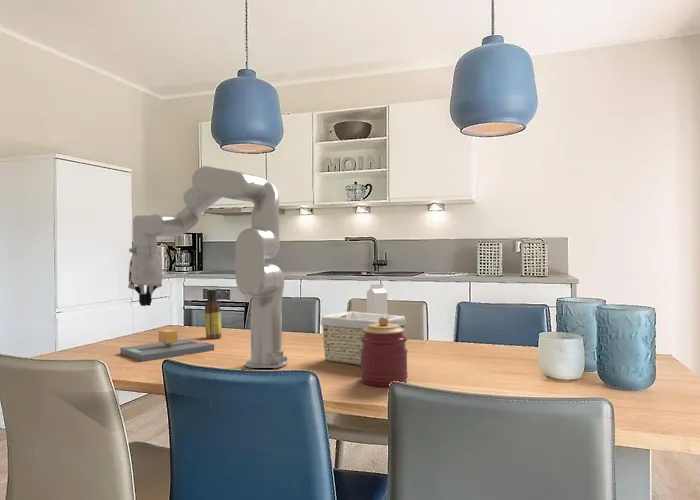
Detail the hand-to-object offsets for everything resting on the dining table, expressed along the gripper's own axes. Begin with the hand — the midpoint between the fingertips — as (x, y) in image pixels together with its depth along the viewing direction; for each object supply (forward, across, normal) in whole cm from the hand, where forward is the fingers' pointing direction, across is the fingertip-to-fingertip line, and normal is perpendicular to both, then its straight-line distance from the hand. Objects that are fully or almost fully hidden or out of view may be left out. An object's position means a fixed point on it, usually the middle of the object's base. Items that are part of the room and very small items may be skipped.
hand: (145, 305), depth 177 cm
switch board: (+17, +8, 0) cm, 19 cm away
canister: (+17, +31, -81) cm, 88 cm away
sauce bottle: (+17, +34, +14) cm, 41 cm away
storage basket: (+18, +46, -59) cm, 77 cm away
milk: (+17, +77, -37) cm, 87 cm away
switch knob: (+15, +8, 0) cm, 17 cm away
